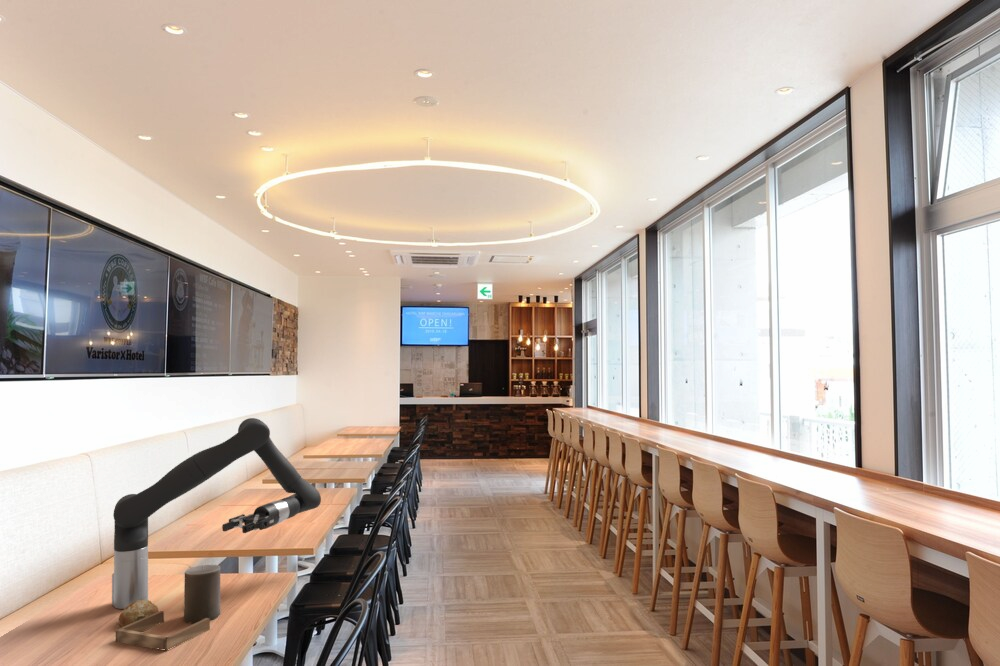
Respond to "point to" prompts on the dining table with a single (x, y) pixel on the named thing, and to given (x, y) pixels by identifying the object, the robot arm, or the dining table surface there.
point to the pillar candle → (202, 593)
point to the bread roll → (136, 612)
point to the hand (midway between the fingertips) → (233, 529)
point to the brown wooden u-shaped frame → (136, 637)
